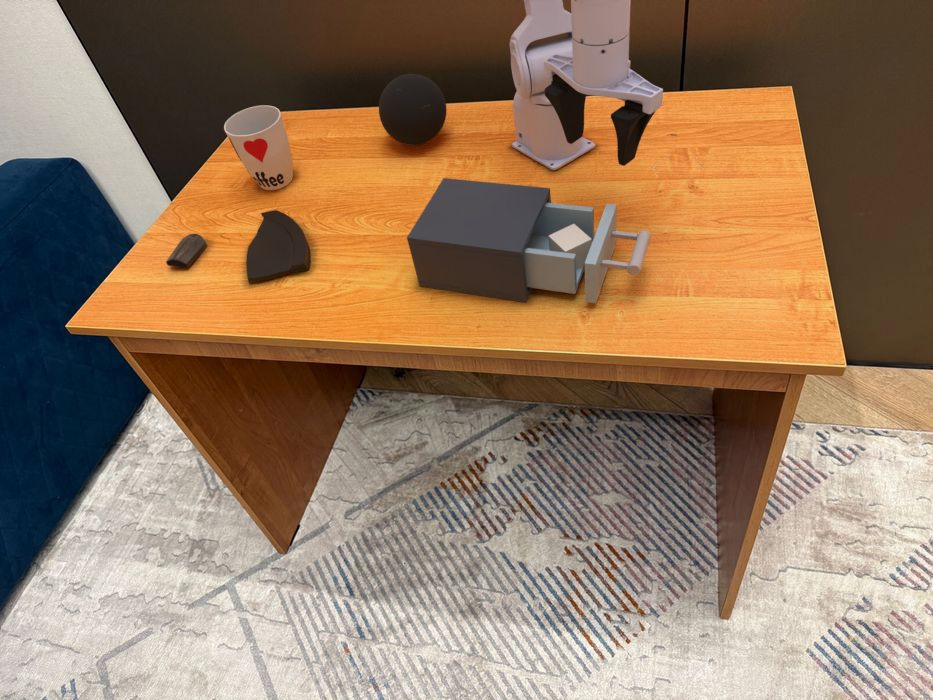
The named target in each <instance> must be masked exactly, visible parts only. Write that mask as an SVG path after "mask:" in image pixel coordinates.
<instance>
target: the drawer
mask: <svg viewBox="0 0 933 700" xmlns="http://www.w3.org/2000/svg"><path fill="white" fill-rule="evenodd" d="M617 211H618V204H616V203H606V204H605V206H604V209H603V212H602V214H601V218H600V220H599V223H598V225H597V228H596V232H595V208H594V207H593V206H584V205H577V204H576V205H574V204H565V203H556V202H551V203H547V202H546V204H545V207H544V209H543V211H542V213H541V215H540V218H539V220H538V222H537V224H536V226H535V229H534V231H533V233H532V235H531V237H530V240H529V242H528V244H527V246H526V249H525V251H524V253H523V254H524V264H525V273H526V282H527V287H531V288H532V289H539V290H544V291H545V290H546V291H551V292H560V293H566V294H572V295H573V294H574V295H575V294H576V293H577V291H578V287H579V285H580V282H581V279H582V277H583V274H584V291H585V292H584V298H585V299H584V300H585V303H590V304H597V301H598V298H599V296H600V293H601V289H602V286H603V283H604V280H605V277H606V275H607V273H608V272H607V271H608V268H609V269H617V270H624V271H627V273H628V274H630V275H633V276H637V275H639V274H640V273H641V271H642V267H643V264H644V261H645V258H646V254H647V250H648V247H649V244H650V240H651V238H652V237H651V236H652V234H651V232H649V230H646V229H643V230H639V232H638V233H637V232H631V231H629V232H628V231H621V230H617V220H618V219H617V218H618V217H617V216H618V212H617ZM572 224H575V225H576V226H577V227H578V228H580V229H581V230H582V231H583V232H584V233H585V234H586V235H588V236H589V237H590V238H591V239H592V244H591V247H590V250H589V253H588V255H587V258H586V261H585V266H584V267H582V268H580V269H578V270H576V254H572V253H564V252H556V251H549V238H548V236H549V235H551V234H553V233H555V232H557V231H559V230H561V229H564V228H566V227H568V226H570V225H572ZM617 239H620V240H629V241H635V243H634V246H633V249H632V253H631V256H630V258H629V261H628V262H626V261H619V260H612V256H613V254H614V251H615V247H616V246H617Z"/></svg>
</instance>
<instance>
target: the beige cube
mask: <svg viewBox="0 0 933 700" xmlns="http://www.w3.org/2000/svg"><path fill="white" fill-rule="evenodd" d="M548 238H549V251H556V252H564V253H572V254H576V270H578V269H580V268H582V267H584V266H585V261H586V258H587V255H588V253H589V250H590V247H591V244H592V239H591V238H590V237H589V236H588V235H586V234H585V233H584V232H583V231H582V230H581V229H580V228H578V227H577V226H576V225H575V224H572V225H570V226H568V227H566V228H564V229H561V230H559V231H557V232H555V233H553V234H551V235H549V236H548Z"/></svg>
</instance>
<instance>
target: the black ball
mask: <svg viewBox="0 0 933 700" xmlns="http://www.w3.org/2000/svg"><path fill="white" fill-rule="evenodd" d="M378 115H379V119H380V123H381V125H382V126H383V129H384V130H385V132H386V133H387V134H388V135H389V136H390V137H391V138H392V139H393V140H395V141H396V142H399V143H400V144H403V145H406V146H420V145H424V144H427V143H428V142H431V141H432V140H433V139H435V138H436V137H437V136H438V135H439V133H440V132H441V131H442V129H443V127H444V125H445V123H446V118H447V103H446V99H445V95H444V94H443V92H442V89H441V88H440V87H439V86H438V84H437V83H435V82H434V81H433V80H431V79H430V78H429V77H427V76H424V75H422V74H417V73H406V74H402V75H399V76H397V77H396V78H394V79H392V80H391V81H390V82H388V84H386V86H385V88H384V89H383V90H382V93H381V95H380V98H379V102H378Z"/></svg>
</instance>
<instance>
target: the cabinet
mask: <svg viewBox="0 0 933 700" xmlns="http://www.w3.org/2000/svg"><path fill="white" fill-rule="evenodd" d="M551 194H552V193H551V188H550V187H541V186H531V185H520V184H510V183H502V182H501V183H500V182H490V181H489V182H488V181H479V180H468V179H459V178H458V179H457V178H448V177H444V178H442V180H441V181H440V183H439V185H438V186H437V188H436V190H435V191H434V193H433V195H432V196H431V198H430V199H429V201H428V203H427V204H426V206H425V207H424V209H423V211H422V212H421V213H420V215H419V217H418V218H417V220H416V222H415V224H414V225H413V227H412V229H411V230H410V232H409V233H408V235H407V237H406V240H407V244H408V248H409V251H410V255H411V259H412V263H413V265H414V266H413V267H414V270H415V275H416V278H417V283H418V286H419V287H422V288H429V289H435V290H436V289H437V290H443V291H449V292H455V293H460V294H461V293H462V294H467V295H473V296H474V295H475V296H482V297H488V298H494V299H495V298H496V299H500V300H506V301H507V300H508V301H514V302H521V303H527V302H528V300H529V297H530V295H531V293H532V290H533V288H531V287H527V282H526V273H525V264H524V254H523V253H524V251H525V249H526V246H527V244H528V242H529V240H530V237H531V235H532V233H533V231H534V229H535V226H536V224H537V222H538V220H539V218H540V215H541V213H542V211H543V209H544V207H545V204H546V202H547V203H552V197H551V196H552V195H551Z"/></svg>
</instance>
